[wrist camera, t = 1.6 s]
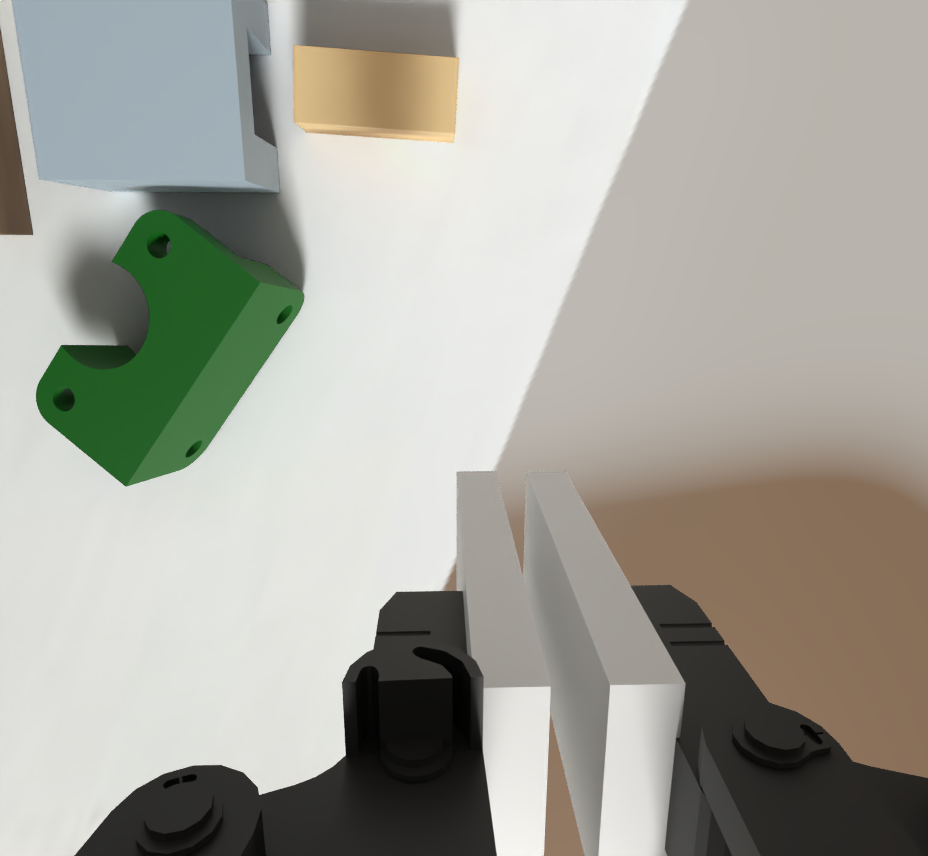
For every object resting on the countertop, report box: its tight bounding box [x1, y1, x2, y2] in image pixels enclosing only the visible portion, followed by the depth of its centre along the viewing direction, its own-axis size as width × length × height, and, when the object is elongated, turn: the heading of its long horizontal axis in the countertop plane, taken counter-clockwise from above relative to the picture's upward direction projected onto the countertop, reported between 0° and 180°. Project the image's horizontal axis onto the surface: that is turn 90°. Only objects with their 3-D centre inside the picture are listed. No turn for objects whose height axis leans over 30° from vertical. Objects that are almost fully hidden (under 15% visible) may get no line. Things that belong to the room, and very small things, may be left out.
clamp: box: [36, 210, 304, 486], centre depth 32 cm, size 12×6×9 cm
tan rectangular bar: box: [294, 45, 459, 143], centre depth 30 cm, size 7×3×3 cm, turn 86°
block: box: [12, 0, 280, 193], centre depth 28 cm, size 8×8×6 cm
